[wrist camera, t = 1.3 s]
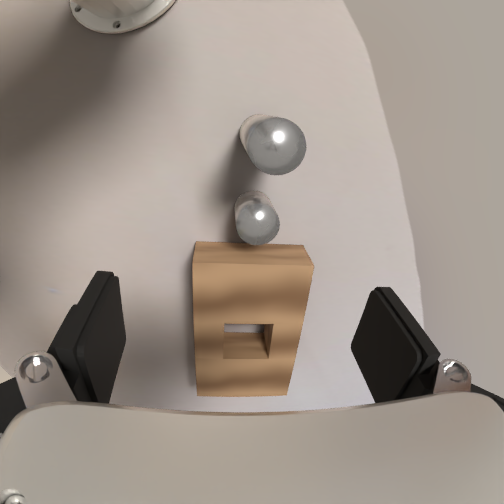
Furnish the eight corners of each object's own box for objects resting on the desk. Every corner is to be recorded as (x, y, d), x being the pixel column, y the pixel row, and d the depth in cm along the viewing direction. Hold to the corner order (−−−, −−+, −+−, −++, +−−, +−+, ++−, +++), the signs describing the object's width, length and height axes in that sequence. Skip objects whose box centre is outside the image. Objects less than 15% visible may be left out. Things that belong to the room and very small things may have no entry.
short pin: (235, 189, 33) (237, 203, 28) (273, 191, 33) (281, 205, 29) (233, 225, 35) (235, 244, 30) (270, 227, 35) (277, 245, 31)
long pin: (241, 112, 30) (249, 115, 20) (280, 116, 30) (308, 121, 20) (238, 151, 31) (245, 173, 21) (277, 154, 32) (302, 177, 22)
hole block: (195, 241, 35) (192, 262, 31) (303, 245, 36) (314, 265, 32) (198, 369, 44) (197, 395, 39) (281, 369, 45) (286, 395, 40)
